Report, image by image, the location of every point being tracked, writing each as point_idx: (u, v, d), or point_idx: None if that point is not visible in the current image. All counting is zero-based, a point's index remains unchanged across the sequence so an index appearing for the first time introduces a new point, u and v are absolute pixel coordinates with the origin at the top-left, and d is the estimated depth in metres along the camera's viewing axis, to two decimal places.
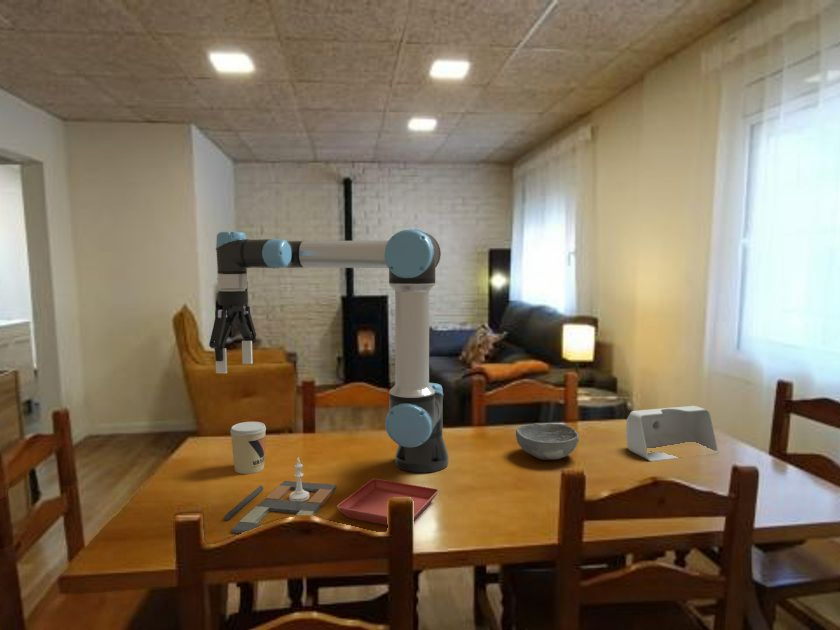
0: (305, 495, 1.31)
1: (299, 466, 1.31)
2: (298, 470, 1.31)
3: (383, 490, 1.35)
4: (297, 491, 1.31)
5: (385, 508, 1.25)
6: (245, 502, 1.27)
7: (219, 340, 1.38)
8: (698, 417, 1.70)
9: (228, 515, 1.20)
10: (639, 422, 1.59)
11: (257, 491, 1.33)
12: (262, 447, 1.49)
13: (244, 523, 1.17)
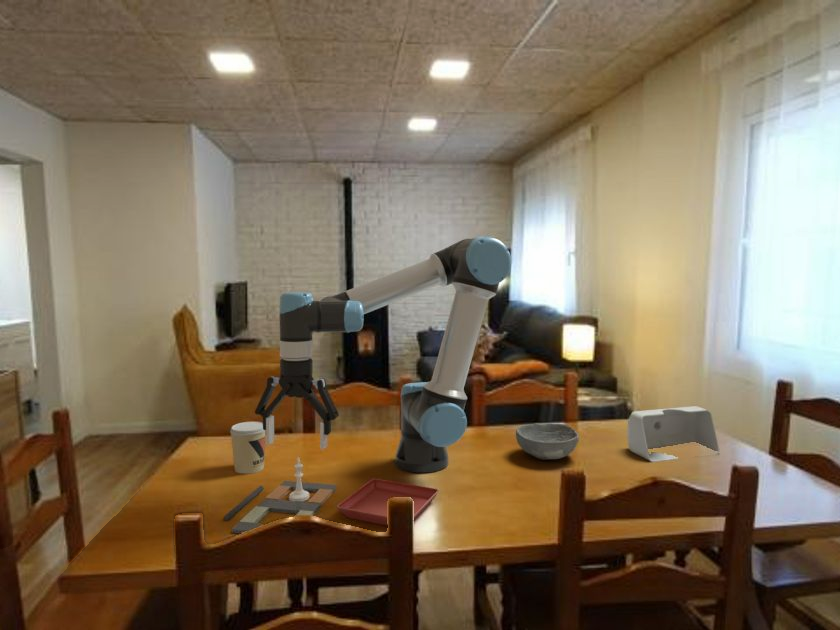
0: (305, 495, 1.31)
1: (299, 466, 1.31)
2: (298, 470, 1.31)
3: (383, 490, 1.35)
4: (297, 491, 1.31)
5: (385, 508, 1.25)
6: (245, 502, 1.27)
7: (258, 407, 1.30)
8: (699, 417, 1.69)
9: (228, 515, 1.20)
10: (640, 423, 1.59)
11: (257, 491, 1.33)
12: (262, 447, 1.49)
13: (244, 523, 1.17)
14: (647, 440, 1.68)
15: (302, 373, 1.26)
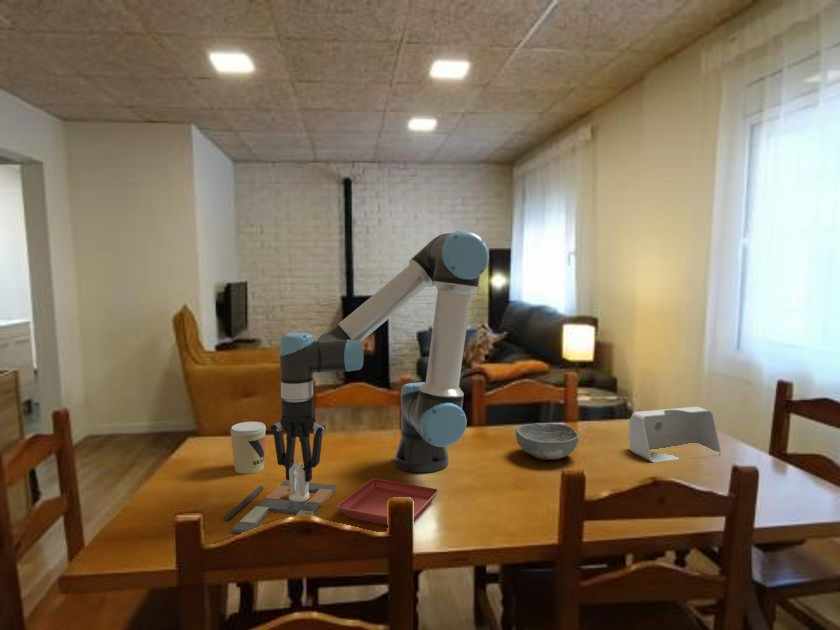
0: (305, 495, 1.31)
1: (299, 466, 1.31)
2: (298, 470, 1.31)
3: (383, 490, 1.35)
4: (297, 491, 1.31)
5: (385, 508, 1.25)
6: (245, 502, 1.27)
7: (278, 458, 1.31)
8: (701, 418, 1.69)
9: (228, 515, 1.20)
10: (641, 423, 1.58)
11: (257, 491, 1.33)
12: (262, 447, 1.49)
13: (244, 523, 1.17)
14: (648, 441, 1.68)
15: (303, 414, 1.27)
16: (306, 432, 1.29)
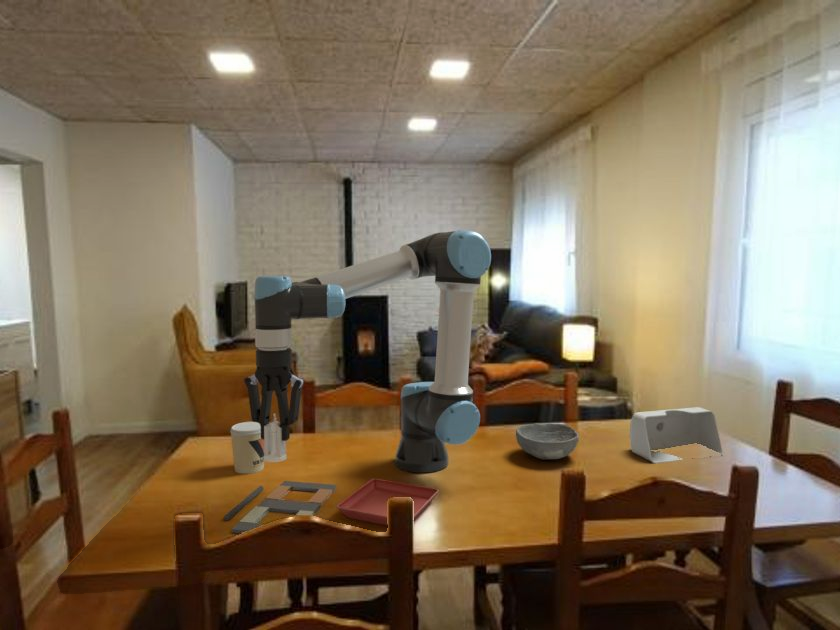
0: None
1: (275, 423, 1.18)
2: (274, 427, 1.18)
3: (383, 490, 1.35)
4: (273, 451, 1.19)
5: (385, 508, 1.25)
6: (245, 502, 1.27)
7: (252, 414, 1.18)
8: (702, 419, 1.68)
9: (228, 515, 1.20)
10: (643, 424, 1.58)
11: (257, 491, 1.33)
12: (262, 447, 1.49)
13: (244, 523, 1.17)
14: (650, 441, 1.67)
15: (279, 364, 1.15)
16: (283, 385, 1.17)
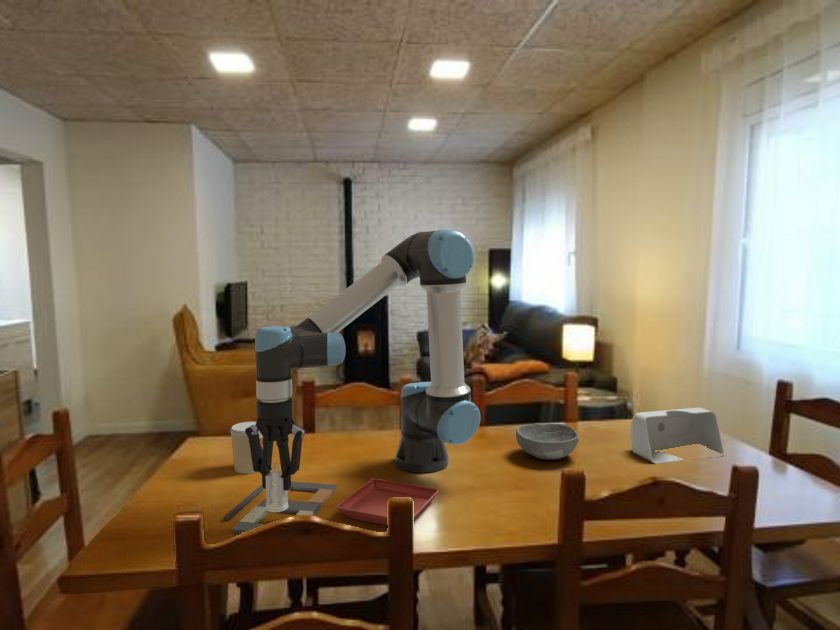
0: None
1: (276, 473, 1.19)
2: (275, 477, 1.19)
3: (383, 490, 1.35)
4: (274, 500, 1.19)
5: (385, 508, 1.25)
6: (245, 502, 1.27)
7: (253, 464, 1.19)
8: (704, 419, 1.68)
9: (228, 515, 1.20)
10: (643, 424, 1.57)
11: (257, 491, 1.33)
12: (262, 447, 1.49)
13: (244, 523, 1.17)
14: (650, 441, 1.67)
15: (281, 416, 1.15)
16: (284, 436, 1.17)
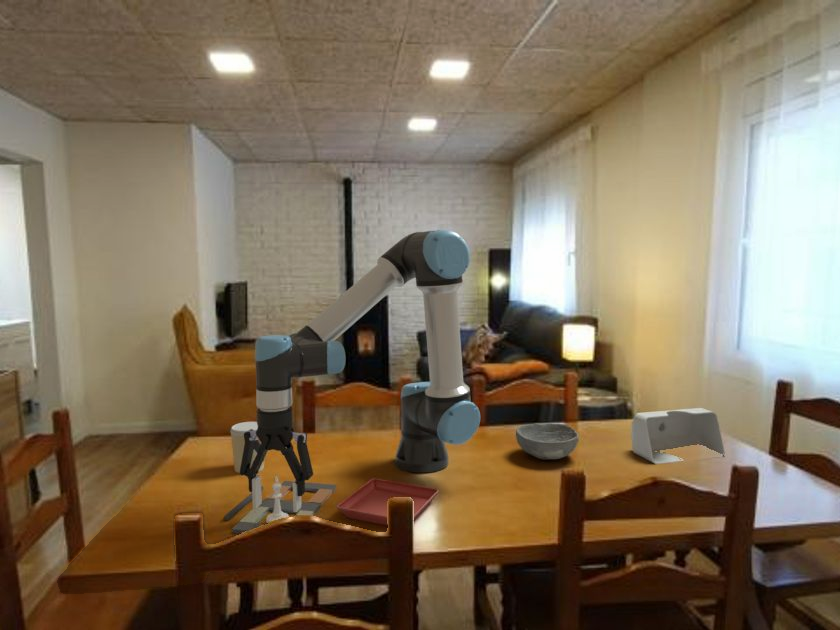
0: None
1: (277, 486, 1.19)
2: (276, 490, 1.19)
3: (383, 490, 1.35)
4: (275, 513, 1.19)
5: (385, 508, 1.25)
6: (245, 502, 1.27)
7: (241, 467, 1.19)
8: (705, 419, 1.67)
9: (228, 515, 1.20)
10: (644, 424, 1.57)
11: None
12: None
13: (244, 523, 1.17)
14: (651, 442, 1.66)
15: (281, 425, 1.15)
16: (284, 445, 1.17)
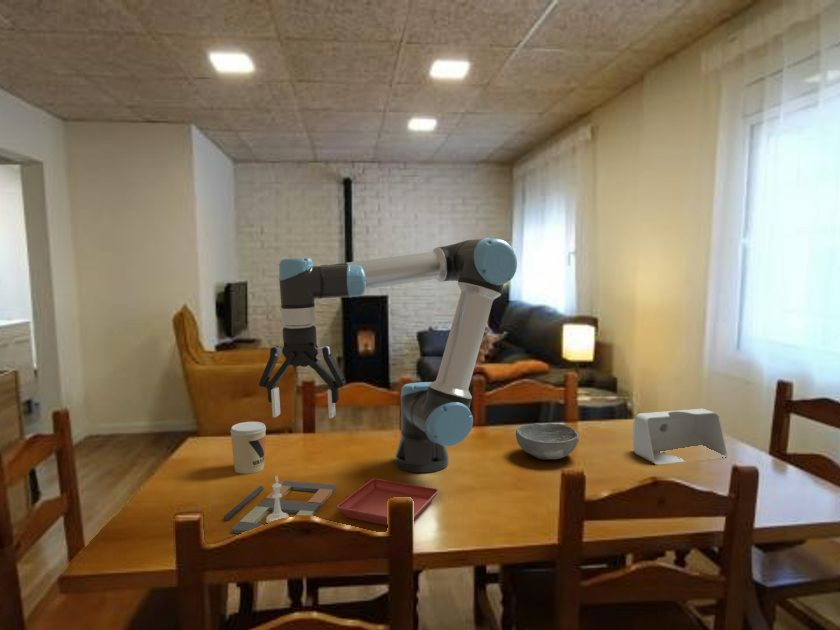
0: None
1: (277, 486, 1.19)
2: (276, 490, 1.19)
3: (383, 490, 1.35)
4: (275, 513, 1.19)
5: (385, 508, 1.25)
6: (245, 502, 1.27)
7: (262, 379, 1.27)
8: (707, 420, 1.66)
9: (228, 515, 1.20)
10: (645, 425, 1.57)
11: (257, 491, 1.33)
12: (262, 447, 1.49)
13: (244, 523, 1.17)
14: (653, 443, 1.66)
15: (306, 340, 1.22)
16: None
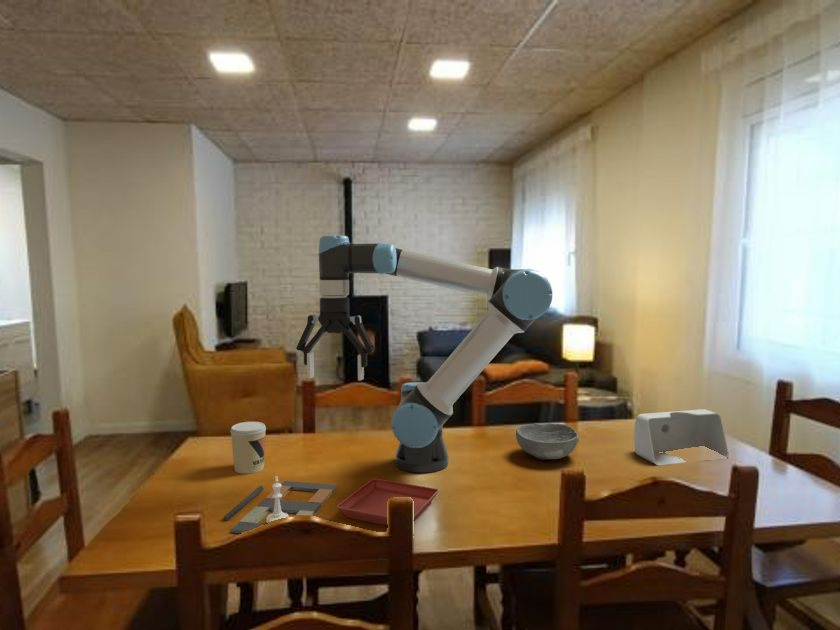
0: None
1: (277, 486, 1.19)
2: (276, 490, 1.19)
3: (383, 490, 1.35)
4: (275, 513, 1.19)
5: (385, 508, 1.25)
6: (245, 502, 1.27)
7: (299, 343, 1.41)
8: (709, 421, 1.66)
9: (228, 515, 1.20)
10: (646, 425, 1.56)
11: (257, 491, 1.33)
12: (262, 447, 1.49)
13: (244, 523, 1.17)
14: (654, 443, 1.65)
15: (341, 309, 1.37)
16: None
